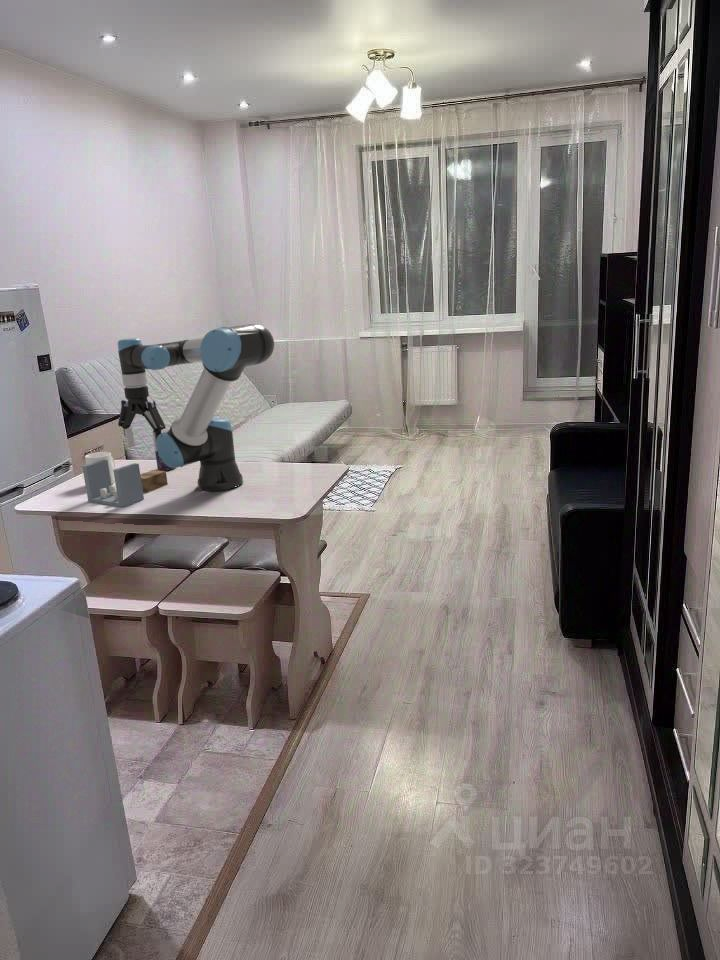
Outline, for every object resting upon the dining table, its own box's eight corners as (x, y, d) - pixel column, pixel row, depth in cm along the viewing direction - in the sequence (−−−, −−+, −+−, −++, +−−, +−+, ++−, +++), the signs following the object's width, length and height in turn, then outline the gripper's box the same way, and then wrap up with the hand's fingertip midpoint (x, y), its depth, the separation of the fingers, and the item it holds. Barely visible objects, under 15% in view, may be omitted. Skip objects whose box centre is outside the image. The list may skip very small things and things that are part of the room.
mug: (126, 478, 260) (122, 449, 257) (104, 487, 250) (99, 458, 247) (107, 477, 263) (103, 449, 260) (84, 486, 253) (79, 457, 250)
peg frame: (144, 499, 233) (138, 463, 229) (123, 507, 226) (117, 470, 223) (109, 493, 242) (103, 459, 238) (88, 501, 235) (82, 465, 231)
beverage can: (153, 470, 268) (149, 439, 265) (165, 465, 275) (161, 435, 271) (169, 471, 266) (165, 440, 262) (180, 466, 272) (176, 435, 269)
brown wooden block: (154, 483, 251) (152, 469, 250) (167, 485, 249) (165, 471, 247) (134, 491, 243) (131, 477, 242) (147, 493, 240) (145, 479, 239)
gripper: (171, 385, 233) (179, 448, 239) (119, 383, 246) (128, 443, 252) (153, 389, 227) (162, 454, 233) (101, 386, 240) (111, 448, 246)
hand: (144, 448), depth 242 cm, fingers open, 13 cm apart
